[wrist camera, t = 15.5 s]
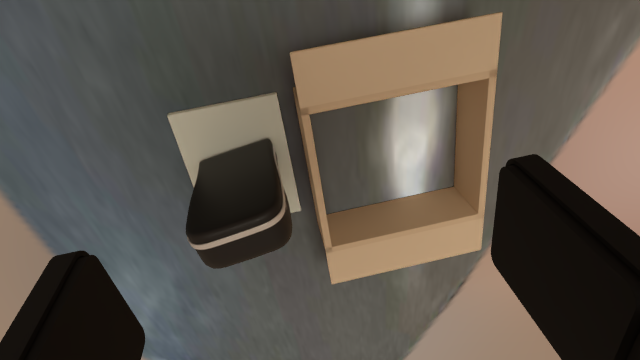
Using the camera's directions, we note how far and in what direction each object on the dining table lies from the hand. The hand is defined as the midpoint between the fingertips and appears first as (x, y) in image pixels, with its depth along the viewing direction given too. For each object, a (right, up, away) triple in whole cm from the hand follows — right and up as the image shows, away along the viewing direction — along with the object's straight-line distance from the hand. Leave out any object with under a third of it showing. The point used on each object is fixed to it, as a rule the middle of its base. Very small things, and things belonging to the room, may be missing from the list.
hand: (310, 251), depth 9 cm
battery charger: (-7, +3, +26) cm, 27 cm away
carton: (+6, +5, +28) cm, 29 cm away
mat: (-7, +3, +27) cm, 28 cm away
